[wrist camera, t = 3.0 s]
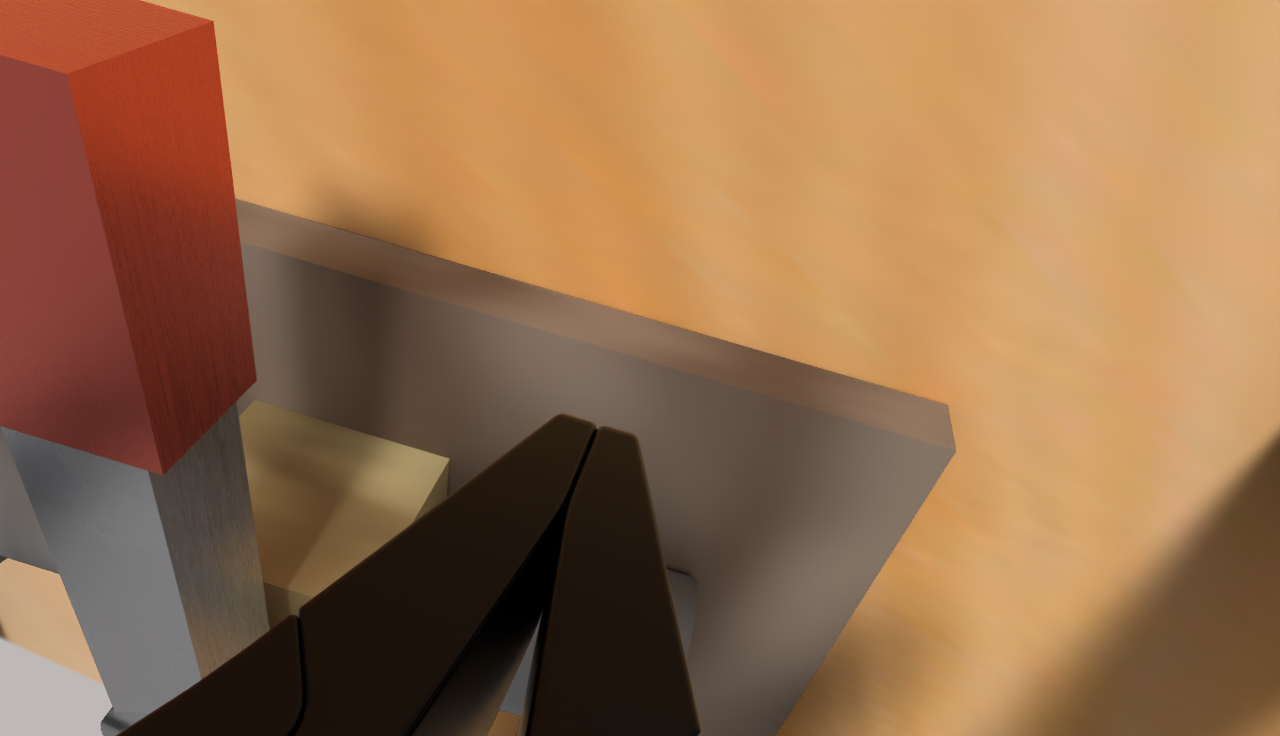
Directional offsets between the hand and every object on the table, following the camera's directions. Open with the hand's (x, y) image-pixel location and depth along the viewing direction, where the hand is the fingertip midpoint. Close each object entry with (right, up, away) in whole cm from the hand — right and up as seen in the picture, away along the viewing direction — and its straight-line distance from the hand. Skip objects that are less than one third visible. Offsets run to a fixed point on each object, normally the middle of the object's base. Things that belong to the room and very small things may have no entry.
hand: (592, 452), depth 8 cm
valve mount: (-7, -2, +14) cm, 15 cm away
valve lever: (-7, -1, +5) cm, 8 cm away
